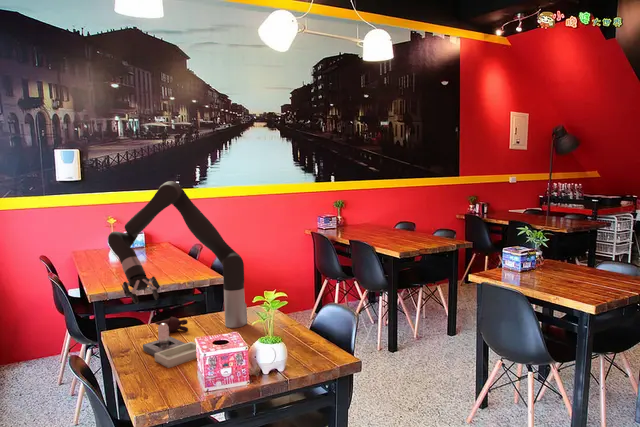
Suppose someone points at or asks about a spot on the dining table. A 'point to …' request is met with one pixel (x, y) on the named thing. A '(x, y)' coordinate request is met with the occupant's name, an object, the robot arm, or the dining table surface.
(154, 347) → the plate
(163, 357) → the tray
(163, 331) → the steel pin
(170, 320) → the brown lobed piece
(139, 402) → the dining table surface
